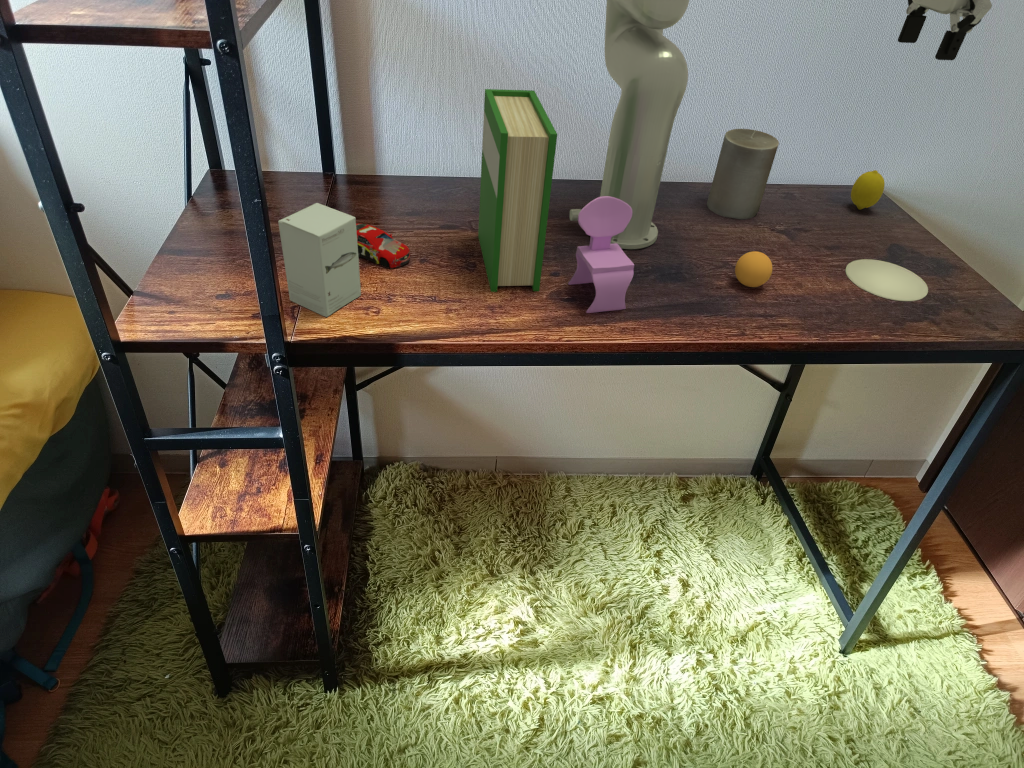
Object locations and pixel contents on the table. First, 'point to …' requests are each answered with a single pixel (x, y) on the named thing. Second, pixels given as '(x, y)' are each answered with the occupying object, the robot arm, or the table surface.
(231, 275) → the table surface
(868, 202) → the lemon
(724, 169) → the pillar candle
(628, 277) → the toy chair
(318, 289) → the supplement box
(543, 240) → the hardback book
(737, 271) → the ball
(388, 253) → the race car
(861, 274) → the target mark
